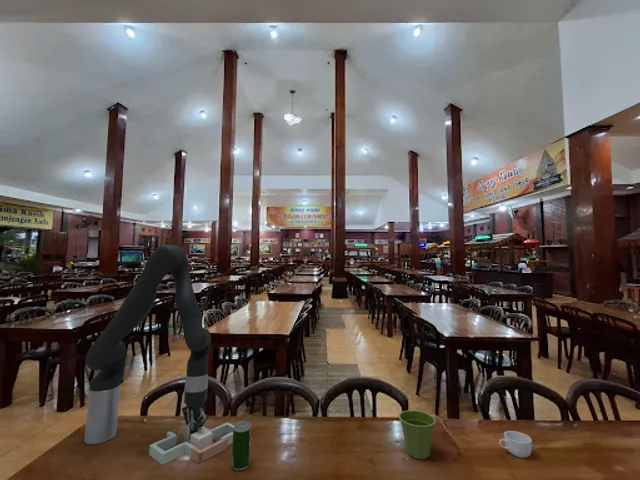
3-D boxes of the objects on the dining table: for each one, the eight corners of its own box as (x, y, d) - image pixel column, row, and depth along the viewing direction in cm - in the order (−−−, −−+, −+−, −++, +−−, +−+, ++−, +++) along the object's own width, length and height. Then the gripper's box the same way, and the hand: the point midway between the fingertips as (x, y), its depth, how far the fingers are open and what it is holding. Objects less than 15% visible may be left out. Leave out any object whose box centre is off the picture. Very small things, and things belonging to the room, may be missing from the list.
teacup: (523, 447, 105) (522, 431, 106) (538, 461, 97) (537, 443, 98) (493, 446, 105) (492, 430, 106) (506, 460, 97) (506, 442, 98)
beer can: (234, 473, 89) (236, 430, 91) (229, 464, 94) (231, 422, 95) (252, 467, 92) (253, 425, 94) (246, 458, 97) (247, 418, 98)
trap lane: (144, 451, 100) (145, 441, 100) (210, 422, 120) (211, 414, 120) (176, 475, 88) (176, 464, 88) (244, 439, 108) (244, 430, 108)
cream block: (189, 448, 102) (190, 434, 102) (203, 442, 106) (203, 428, 106) (198, 454, 99) (199, 439, 99) (211, 447, 103) (212, 433, 103)
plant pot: (421, 441, 108) (420, 407, 109) (444, 460, 97) (443, 423, 98) (392, 446, 104) (391, 412, 106) (413, 467, 93) (412, 428, 94)
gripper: (176, 386, 108) (172, 437, 106) (197, 395, 100) (194, 451, 98) (195, 380, 114) (192, 429, 112) (216, 388, 106) (214, 441, 104)
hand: (193, 439), depth 105 cm, fingers closed
